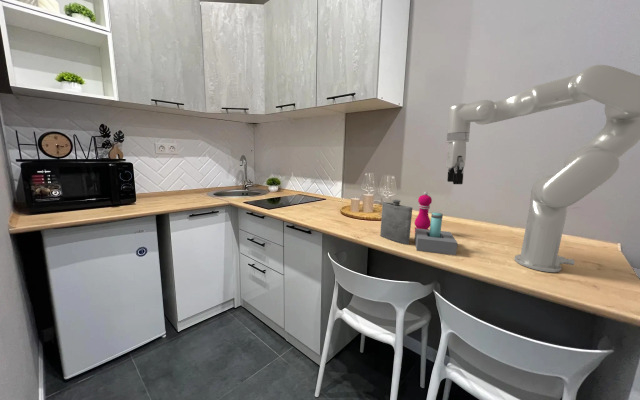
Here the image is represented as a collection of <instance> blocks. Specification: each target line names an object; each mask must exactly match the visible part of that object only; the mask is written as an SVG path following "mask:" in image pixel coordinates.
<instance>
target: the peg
mask: <svg viewBox="0 0 640 400" xmlns="http://www.w3.org/2000/svg"><path fill="white" fill-rule="evenodd" d="M430 216H431V218H430V223H431V225H430V227H429V230H430V234H429V237H437V238H440V233H441V231H442V225H443V224H442V223H443V216H444V215H443V213H440V212H432V213H431V215H430Z"/></svg>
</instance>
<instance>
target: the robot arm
mask: <svg viewBox="0 0 640 400" xmlns="http://www.w3.org/2000/svg"><path fill="white" fill-rule="evenodd" d="M591 100H593V101H596V102H598V103H599V104H603V105H605V106H604V115H605V119H606V120H605V121H606V122H605V123H604V126H603V128H601V130H599V132H598V133H597V134H596V135H594V136H593V137H592V138H591V139H590V140H589V141H587V142H586V143H585V144H584V145H582V146H581V147H580V148H579V149H577V150H576V151H574V152H573V153H572V154H570V155H569V156H568V157H567V158H566V159H565V161H564V163H563V167H562V168H561V169H559V171H558V172H556V173H555V174H548V175H545V176H544V175H543V176H541V177H540V178H538V179H537V180H536V181H535V182H534V183H533V185H532V187H531V189H530V199H529V200H530V201H529V209H528V213H527V219H526V224H525V230H524V234H523V240H522V241H523V242H522V245H521V250H520V251H521V252H520V254H516V255H514V258H513V259H514V261H515V262H516V263H517V264H519V265H521V266H524V267H526V268H529V269H532V270H535V271H541V272H544V273H545V272H546V273H559V272H561V270H562V266H561V265H569V266H570V265H571V266H574V265H576V264H575V263H576V262H575V259H572V258H566V257H565V256H561V255H559V250H560V247H561V246H560V245H561V241H562V237H563V232H564V228H565V223H566V220H567V219H566V217H567V212H568V211H567V210H568V207H571V206H573V205H574V204H576V203H577V202H579V201H581V200H582V199H584V197H586V196H588V195H589V194H591V193H592V192H593V191H595V190H596V189H598V188H599V187H600V186H602V185H603V184H604V183H605V184H606V182H607V181H609V180H610V179H611V178H612V177H613V176H614V175H616V173H617V171H618V170H619V168H620V158H621V157H622V156H623V155H624V154H626V153H627V152H628V151H630V150H631V149H632V148H633V147H634V146H636V145H637V144H638V143H639V142H640V75H638V74H637V73H633V72H631V71H627V70H624V69H622V68H621V69H620V68H618V67H615V66H613V65H612V66H611V65H607V64H596V65H591V66H588V67H586V68H584V69H583V70H581V71H580V72H579V73H578V74H573V75H570V76H566V77H563V78H560V79H555V80H553V81H548V82H545V83H541V84H538V85H533V86H530V87H528V88H526V89H525V90H523V91H521V92H519V93H517V94H515V95H512V96H511V97H507V98H505V99H501V100H498V101H497V100H496V101H492V100H489V99H482V100H477V101H474V102H469V103H457V104H453V105H451V106H450V107H449V108H448V118H447V130H446V131H447V133H446V143H447V144H448V146H447V151H446V160H445V162H446V163H445V167H446V168H448V170H447V178H446V179H447V182H449V183H452V184H453V185H463V183H464V168H465V166H466V158H467V157H466V156H467V143H469V142H470V132H471V130H470V129H471V123H475V124H477V125H482V126H483V125H488V124H493V123H497V122H502V121H507V120H510V119H514V118H519V117H524V116H528V115H532V114H536V113H540V112H545V111H548V110H552V109H558V108H562V107H566V106H571V105H576V104H580V103H585V102H588V101H591Z"/></svg>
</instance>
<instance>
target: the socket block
mask: <svg viewBox="0 0 640 400" xmlns="http://www.w3.org/2000/svg"><path fill="white" fill-rule="evenodd" d="M429 234H430V229H429V230H426V229H417V228H416V227H414V237H413V238H414V243H415V249H416V251H419V252H424V253H434V254H443V255H449V256H456V255H457V249H458V242H457V240H456V238H455V236H453V234H452V232H450V231H444V230H441V233H440V238H437V237H429Z"/></svg>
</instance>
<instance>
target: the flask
mask: <svg viewBox="0 0 640 400" xmlns="http://www.w3.org/2000/svg"><path fill="white" fill-rule="evenodd" d="M400 203H401V199H392V202H388V201H382V206H381V217H380V218H381V221H380V234H379V235H380V237H381V238H383V239H386V240H388V241H392V242H395V243H398V244H401V245H407V246H408V245H410V240H411V225H412V218H413V215H412V214H413V207H412V206H406V205H401V204H400Z"/></svg>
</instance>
